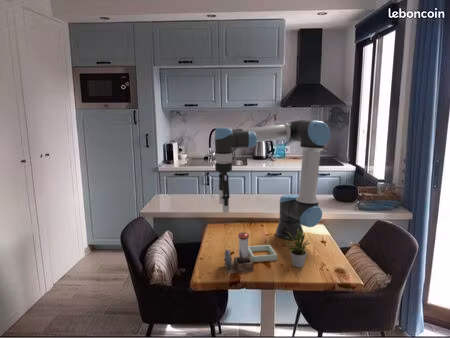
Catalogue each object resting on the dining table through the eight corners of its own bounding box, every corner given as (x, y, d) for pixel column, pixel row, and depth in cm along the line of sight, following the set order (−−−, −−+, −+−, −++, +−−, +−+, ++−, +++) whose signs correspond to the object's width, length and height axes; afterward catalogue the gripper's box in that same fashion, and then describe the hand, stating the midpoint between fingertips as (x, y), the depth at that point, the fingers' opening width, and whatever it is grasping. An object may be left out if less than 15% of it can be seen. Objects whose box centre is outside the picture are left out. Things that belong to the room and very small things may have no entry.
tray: (269, 252, 169) (269, 244, 168) (276, 262, 158) (277, 254, 157) (247, 254, 167) (247, 246, 166) (252, 264, 156) (252, 256, 155)
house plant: (279, 256, 164) (280, 224, 161) (308, 256, 164) (309, 224, 161) (283, 270, 150) (284, 236, 147) (314, 271, 150) (316, 236, 147)
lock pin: (247, 263, 154) (247, 232, 151) (249, 268, 149) (249, 236, 146) (237, 264, 153) (237, 232, 150) (239, 269, 149) (239, 236, 146)
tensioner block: (249, 263, 157) (249, 244, 155) (254, 274, 147) (255, 253, 145) (222, 266, 155) (222, 246, 153) (226, 276, 145) (226, 256, 143)
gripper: (212, 158, 163) (213, 200, 167) (218, 167, 139) (218, 216, 143) (228, 157, 164) (228, 199, 168) (236, 167, 140) (236, 216, 144)
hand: (223, 207), depth 155 cm, fingers open, 13 cm apart
